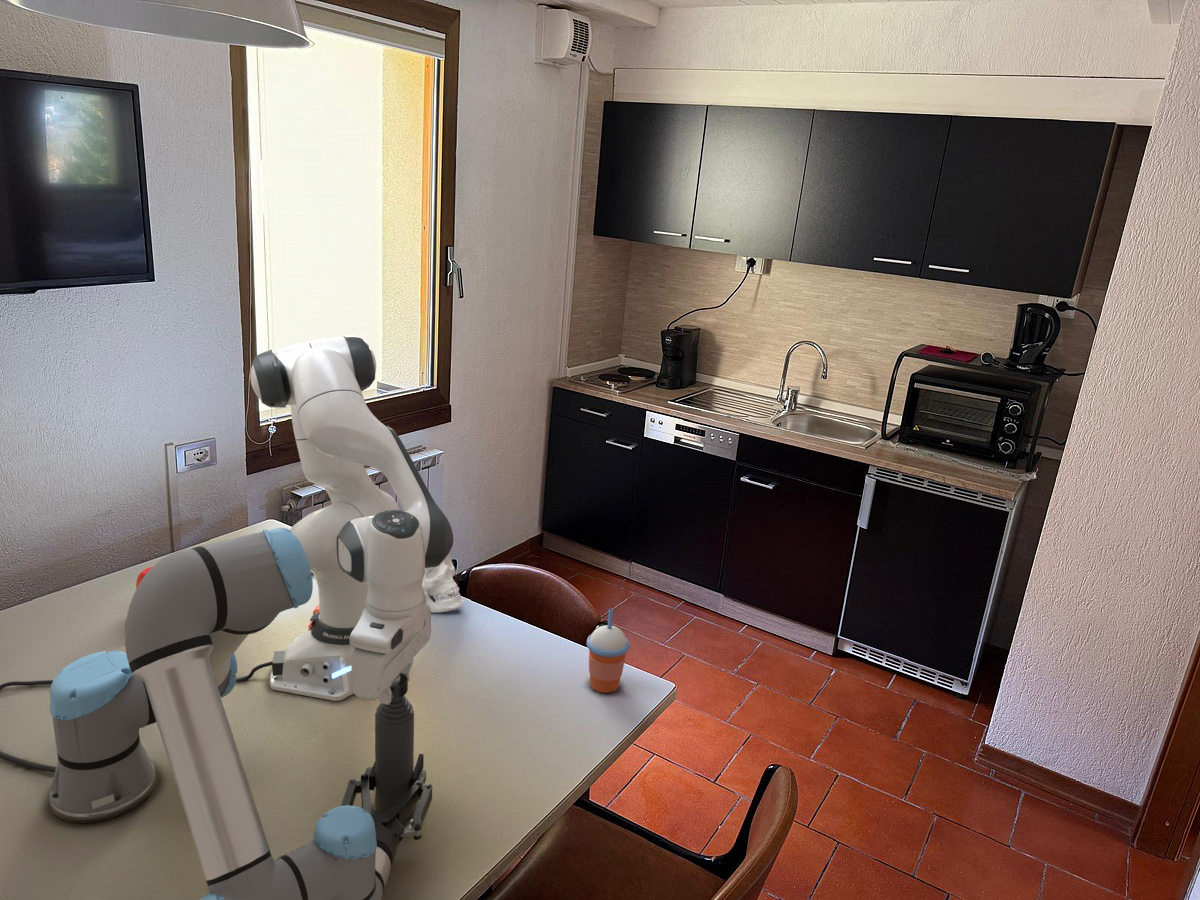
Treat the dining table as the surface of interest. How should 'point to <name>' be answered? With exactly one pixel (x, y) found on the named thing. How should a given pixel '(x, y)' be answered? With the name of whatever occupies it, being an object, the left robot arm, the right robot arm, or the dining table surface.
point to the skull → (442, 587)
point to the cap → (399, 686)
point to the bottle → (393, 752)
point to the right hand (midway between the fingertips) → (394, 692)
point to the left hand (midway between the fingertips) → (401, 759)
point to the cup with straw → (606, 656)
